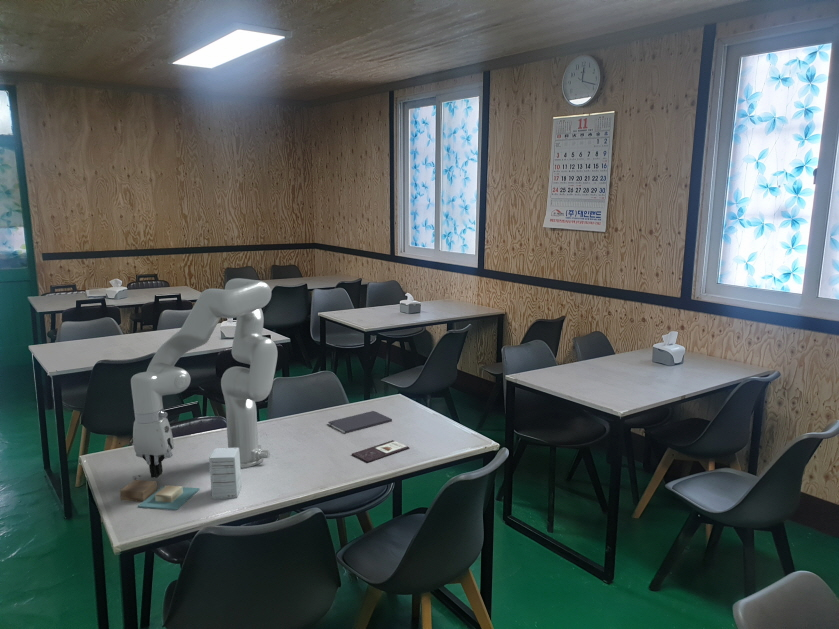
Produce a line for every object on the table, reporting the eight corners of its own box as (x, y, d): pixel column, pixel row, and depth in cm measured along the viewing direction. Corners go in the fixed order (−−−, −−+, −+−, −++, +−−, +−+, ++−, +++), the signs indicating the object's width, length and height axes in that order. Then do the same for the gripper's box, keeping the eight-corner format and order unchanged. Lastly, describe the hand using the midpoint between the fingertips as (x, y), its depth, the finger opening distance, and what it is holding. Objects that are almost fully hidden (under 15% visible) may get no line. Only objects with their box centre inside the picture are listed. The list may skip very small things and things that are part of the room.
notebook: (344, 435, 233) (392, 422, 246) (344, 431, 233) (392, 418, 246) (327, 425, 243) (373, 414, 256) (327, 421, 243) (373, 410, 255)
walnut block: (157, 490, 187) (156, 481, 187) (143, 501, 180) (142, 492, 180) (135, 489, 188) (134, 479, 188) (121, 500, 181) (120, 490, 181)
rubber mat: (199, 489, 188) (199, 488, 188) (176, 510, 175) (176, 508, 175) (163, 486, 190) (163, 485, 190) (137, 507, 177) (137, 505, 177)
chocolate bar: (351, 453, 213) (392, 440, 225) (351, 456, 213) (392, 442, 225) (367, 461, 206) (409, 447, 218) (367, 464, 207) (409, 449, 218)
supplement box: (216, 488, 189) (214, 447, 187) (242, 487, 190) (240, 446, 187) (211, 499, 182) (208, 457, 180) (237, 498, 182) (235, 456, 180)
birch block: (166, 485, 185) (167, 491, 186) (155, 494, 180) (155, 501, 180) (182, 486, 185) (182, 492, 185) (171, 495, 179) (171, 502, 179)
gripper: (181, 411, 182) (187, 471, 186) (133, 410, 184) (140, 468, 188) (166, 421, 175) (174, 483, 178) (117, 419, 177) (125, 480, 181)
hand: (156, 475), depth 183 cm, fingers closed
